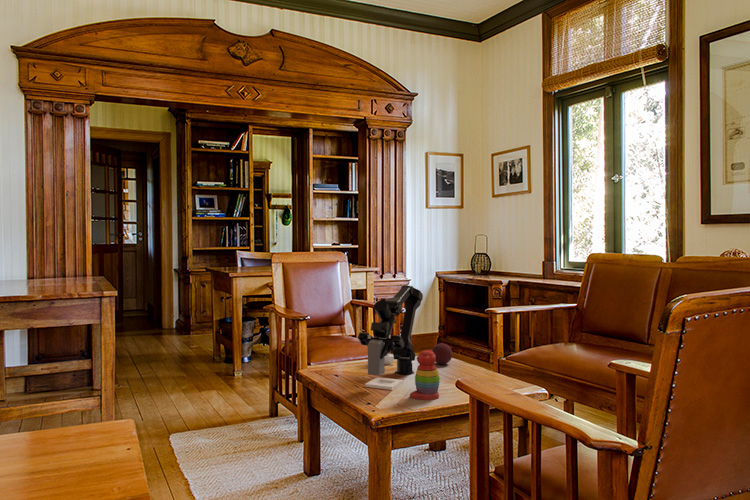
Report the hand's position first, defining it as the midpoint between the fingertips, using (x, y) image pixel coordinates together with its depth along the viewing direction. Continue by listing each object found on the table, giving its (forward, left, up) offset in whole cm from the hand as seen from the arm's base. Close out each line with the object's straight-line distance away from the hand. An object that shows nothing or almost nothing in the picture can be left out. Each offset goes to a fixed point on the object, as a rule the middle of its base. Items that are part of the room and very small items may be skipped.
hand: (374, 358), depth 217 cm
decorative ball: (-12, +55, -13) cm, 58 cm away
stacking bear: (+19, +9, -13) cm, 25 cm away
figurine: (-32, +37, -13) cm, 51 cm away
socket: (-4, +9, -13) cm, 16 cm away
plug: (-1, +1, -7) cm, 7 cm away
